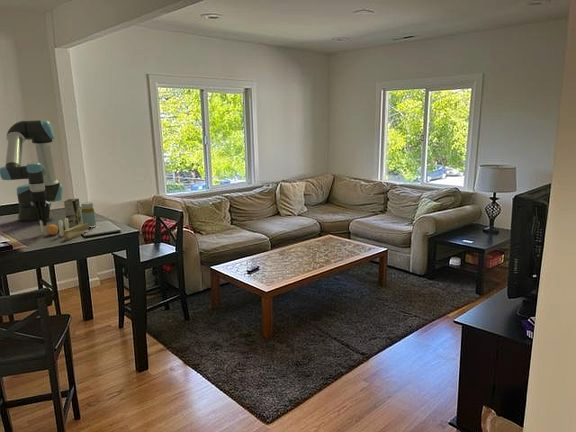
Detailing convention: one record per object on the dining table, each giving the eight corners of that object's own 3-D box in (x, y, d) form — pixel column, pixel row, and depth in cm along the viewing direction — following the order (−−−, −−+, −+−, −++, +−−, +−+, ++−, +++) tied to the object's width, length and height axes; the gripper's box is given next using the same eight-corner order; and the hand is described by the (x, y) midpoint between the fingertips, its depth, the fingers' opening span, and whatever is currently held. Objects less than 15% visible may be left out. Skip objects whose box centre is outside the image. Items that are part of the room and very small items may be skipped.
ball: (53, 224, 246) (53, 235, 246) (60, 224, 252) (60, 234, 252) (43, 224, 247) (43, 234, 247) (51, 223, 253) (51, 234, 253)
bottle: (91, 228, 261) (88, 204, 258) (81, 228, 263) (78, 204, 259) (98, 225, 268) (95, 202, 265) (88, 225, 269) (85, 201, 266)
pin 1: (59, 236, 246) (57, 221, 243) (61, 235, 247) (59, 220, 245) (62, 236, 245) (60, 221, 243) (65, 235, 247) (62, 220, 245)
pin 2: (65, 234, 250) (63, 219, 248) (67, 233, 252) (65, 218, 250) (68, 234, 250) (66, 219, 248) (70, 233, 252) (68, 218, 250)
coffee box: (78, 226, 267) (74, 200, 264) (66, 227, 266) (63, 201, 263) (82, 223, 276) (79, 198, 273) (71, 223, 275) (68, 198, 272)
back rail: (64, 239, 239) (63, 230, 238) (84, 231, 256) (83, 222, 255) (69, 239, 239) (68, 231, 237) (89, 231, 256) (88, 223, 255)
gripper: (22, 191, 243) (29, 232, 248) (43, 192, 240) (49, 233, 246) (32, 189, 250) (38, 229, 255) (52, 189, 248) (58, 229, 253)
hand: (43, 231), depth 250 cm, fingers closed
